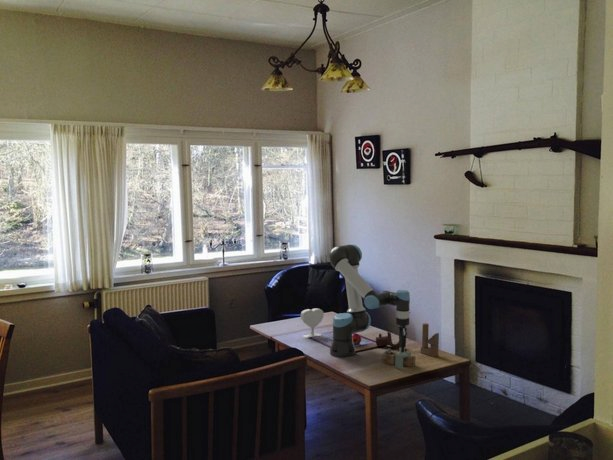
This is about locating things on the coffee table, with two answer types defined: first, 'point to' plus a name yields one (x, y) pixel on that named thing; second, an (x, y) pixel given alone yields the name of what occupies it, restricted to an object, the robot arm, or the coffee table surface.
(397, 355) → the keeper
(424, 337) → the wooden block
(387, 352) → the pintle
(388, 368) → the coffee table surface
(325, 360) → the coffee table surface
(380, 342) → the brown toy figure
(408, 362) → the link
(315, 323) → the heart sculpture
